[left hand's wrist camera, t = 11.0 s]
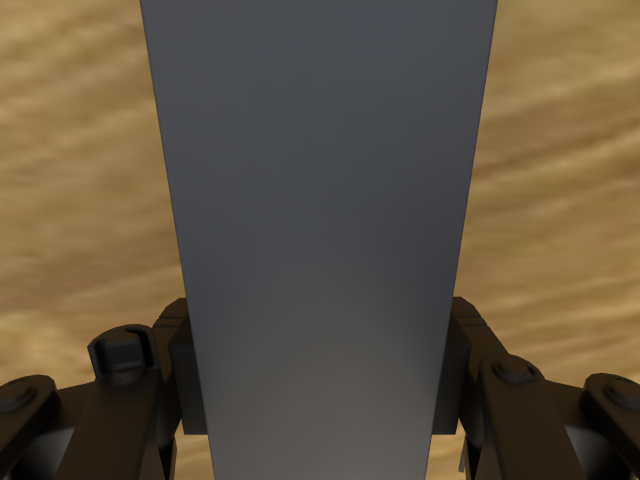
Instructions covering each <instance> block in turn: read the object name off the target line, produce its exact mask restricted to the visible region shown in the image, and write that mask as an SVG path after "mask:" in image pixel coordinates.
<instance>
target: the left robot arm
mask: <svg viewBox="0 0 640 480" xmlns="http://www.w3.org/2000/svg"><path fill="white" fill-rule="evenodd" d="M87 348H88V352H89V355H90V359H91V362H92V366H93V369H94V373H95V376H96V379H95V381H93V382H90V383H86V384H82V385H77V386H73V387H68V388H64V389H59V390H57V388H56V385H55V382H54V380H53V379H52V378H50V377H49V376H45V375H31V376H25V377H22V378H18V379H15V380H12V381H10V382H8V383H6V384H4V385H2V386H0V480H174V473H175V464H176V454H177V446H176V440H175V435H174V434H175V432H176V429H177V427H178V425H179V422H180V420H182V425H183V430H184V435H208V433H207V426H206V420H205V414H204V407H203V401H202V394H201V388H200V382H199V375H198V369H197V363H196V356H195V350H194V344H193V337H192V331H191V324H190V318H189V312H188V305H187V299H186V298H179V299H177V300H176V301H174V302H173V303H171V304H170V305H168V306H167V307H166V308H165V309H164V311H163V312H162V314H161V315H160V316H159V319H157V320H156V322H155V323H154V324H153V328H150V327H149V326H145V325H141V324H128V325H124V326H119V327H115V328H113V329H110V330H108V331H106V332H103V333H102V334H100V335H99V336H97V337H96V338H95V339H93V340H92V342H91V343H90V344H89V345H88V346H87ZM458 418H459V419H460V421H461V424H462V426H463V428H464V431H465V433H466V435H465V440H464V445H463V450H462V455H461V460H460V465H459V472H464V467H465V472H466V480H636V479H637V478H638V479H639V480H640V385H639V384H638V383H636V382H634V381H632V380H630V379H627V378H623V377H621V376H617V375H613V374H606V373H598V374H592V375H590V376H589V377H588V378H587V379H586V381H585V384H584V387H583V388H579V387H574V386H570V385H565V384H560V383H556V382H552V381H548V380H545V378H544V376H543V375H542V373H541V372H540V371H539V369H538V368H536V367H535V366H534V365H533V364H531V363H530V362H529V361H526V360H524V359H522V358H520V357H518V356H515V355H511V354H509V353H508V352H507V351H506V349H505V348H504V346H503V345H502V344H501V342H500V341H499V340H498V338H497V337H496V336H495V334H494V333H493V331H492V330H491V329H490V327H489V326H487V323H486V322H485V321H484V319H483V318H481V315H480V314H479V312H478V311H477V310H476V308H475V307H474V306H473V305H472V304H471V303H469V302H468V301H466V300H465V299H463V298H462V297H453V299H452V306H451V312H450V319H449V325H448V332H447V338H446V345H445V352H444V358H443V365H442V371H441V378H440V384H439V391H438V398H437V404H436V411H435V417H434V424H433V430H432V435H455V434H456V429H457V423H458Z"/></svg>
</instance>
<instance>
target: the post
mask: <svg viewBox="0 0 640 480" xmlns="http://www.w3.org/2000/svg"><path fill="white" fill-rule="evenodd" d="M497 3H498V0H140V6H141V12H142V18H143V25H144V31H145V38H146V44H147V50H148V57H149V63H150V69H151V76H152V82H153V89H154V95H155V101H156V108H157V114H158V120H159V127H160V133H161V140H162V146H163V152H164V159H165V165H166V171H167V178H168V184H169V191H170V197H171V203H172V210H173V216H174V222H175V229H176V235H177V242H178V248H179V254H180V261H181V267H182V273H183V280H184V286H185V293H186V299H187V305H188V312H189V318H190V324H191V331H192V337H193V344H194V350H195V356H196V363H197V369H198V375H199V382H200V388H201V394H202V401H203V407H204V414H205V420H206V426H207V433H208V439H209V445H210V452H211V458H212V465H213V471H214V477H215V480H425V476H426V470H427V463H428V457H429V450H430V444H431V437H432V430H433V424H434V417H435V411H436V404H437V398H438V391H439V384H440V378H441V371H442V365H443V358H444V352H445V345H446V338H447V332H448V325H449V319H450V312H451V306H452V299H453V293H454V286H455V279H456V273H457V266H458V260H459V253H460V247H461V240H462V233H463V227H464V220H465V214H466V207H467V201H468V194H469V187H470V181H471V174H472V168H473V161H474V155H475V148H476V141H477V135H478V128H479V122H480V115H481V109H482V102H483V95H484V89H485V82H486V76H487V69H488V63H489V56H490V49H491V43H492V36H493V30H494V23H495V17H496V10H497Z"/></svg>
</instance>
